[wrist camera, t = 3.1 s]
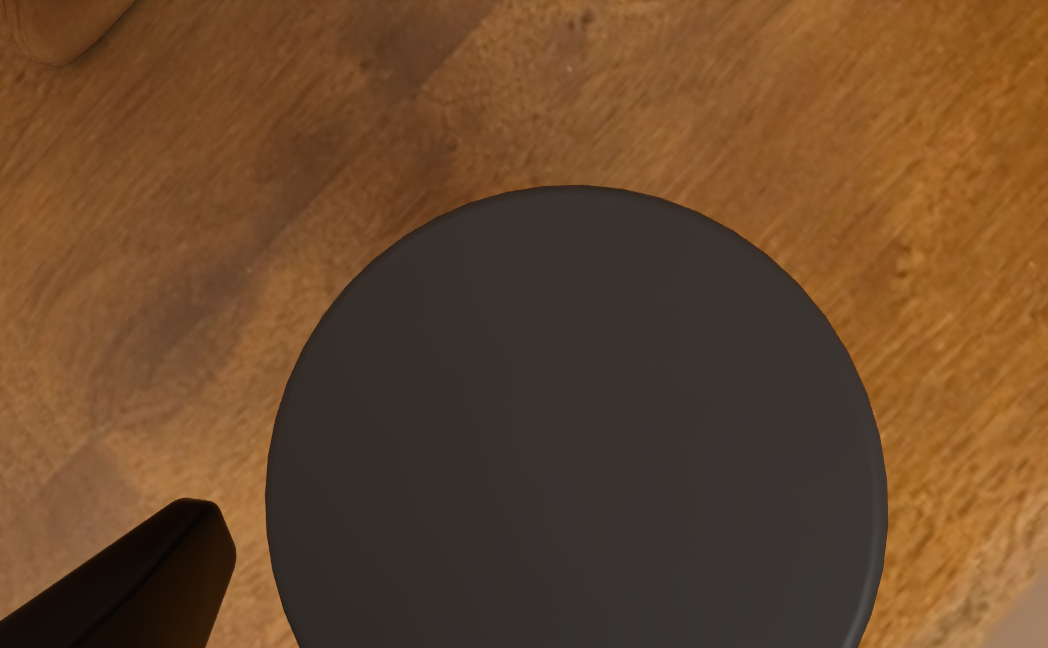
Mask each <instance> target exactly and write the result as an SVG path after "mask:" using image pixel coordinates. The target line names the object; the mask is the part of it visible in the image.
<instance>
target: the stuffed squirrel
mask: <svg viewBox="0 0 1048 648" xmlns="http://www.w3.org/2000/svg"><path fill="white" fill-rule="evenodd" d="M134 2H135V0H4V4H5V11H6V18H7V21H8V24H9V26H10V29H11V32H12V36H13V38H14V41H15V43H16V45H17V46H18V48H19V49H20V51H21V52H22V53H23V54H24V55H25V56H26V57H28V58H29V59H31V60H34V61H36V62H39V63H41V64H47V65H58V66H62V65H65V64H67V63H70V62H71V61H72V60H73V59H75V58H76V57H78V56H79V55H80V54H82V53H83V52H84V51H85V50H87V49H88V48H89V47H90V46H91V45H93V44H94V43H95V42H96V41H97V40H98V39H100V38H101V37H102V36H103V35H104V34H105V33H106V32H107V31H108V30H109V29H110V28H111V27H112V26H113V24H114V23H115V22H116V21H117V20H118V19H119V18H120V16H121V15H122V14H123V13H124V12H125V11H126V10H127V9H128V8H129V7H130V6H131V5H132V4H133V3H134Z"/></svg>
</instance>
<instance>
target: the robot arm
mask: <svg viewBox="0 0 1048 648" xmlns="http://www.w3.org/2000/svg"><path fill="white" fill-rule="evenodd" d="M235 563H236V548H235V544H234V542H233V540H232V537H231V535H230V532H229V530H228V527H227V525H226V522H225V520H224V518H223V515H222V513H221V510H220V508H219V507H218V506H217V505H216V504H215V503H214V502H212V501H207V500H200V499H193V498H181V499H178V500H175V501H173V502H172V503H170V504H169V505H167V506H166V507H164V508H163V509H161V510H160V511H159V512H157V513H156V514H154V515H153V516H151V517H150V518H148V519H147V520H146V521H144V522H143V523H141V524H140V525H138V526H137V527H135V528H134V529H133V530H131V531H130V532H128V533H127V534H125V535H124V536H122V537H121V538H120V539H118V540H117V541H115V542H114V543H112V544H111V545H109V546H108V547H107V548H105V549H104V550H102V551H101V552H99V553H98V554H96V555H95V556H94V557H92V558H91V559H89V560H88V561H86V562H85V563H83V564H82V565H81V566H79V567H78V568H76V569H75V570H73V571H72V572H70V573H69V574H68V575H66V576H65V577H63V578H62V579H60V580H59V581H57V582H56V583H55V584H53V585H52V586H50V587H49V588H47V589H46V590H44V591H43V592H42V593H40V594H39V595H37V596H36V597H34V598H33V599H31V600H30V601H29V602H27V603H26V604H24V605H23V606H21V607H20V608H18V609H17V610H15V611H14V612H13V613H11V614H10V615H8V616H7V617H5V618H4V619H2V620H1V621H0V648H205V647H206V645H207V642H208V639H209V637H210V634H211V631H212V628H213V626H214V623H215V620H216V617H217V615H218V612H219V609H220V607H221V604H222V601H223V598H224V596H225V593H226V590H227V587H228V585H229V582H230V579H231V577H232V574H233V571H234V568H235Z"/></svg>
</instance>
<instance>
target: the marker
mask: <svg viewBox="0 0 1048 648" xmlns="http://www.w3.org/2000/svg"><path fill="white" fill-rule="evenodd" d="M265 505H266V529H267V539H268V545H269V551H270V557H271V564H272V570H273V574H274V578H275V581H276V585H277V588H278V592H279V595H280V599H281V602H282V606H283V609H284V612H285V615H286V617H287V619H288V622H289V624H290V626H291V629H292V631H293V633H294V636H295V638H296V641H297V643H298V645H299V648H858V646H859V643H860V641H861V638H862V636H863V634H864V631H865V629H866V626H867V624H868V622H869V619H870V617H871V614H872V610H873V607H874V603H875V599H876V595H877V591H878V587H879V583H880V580H881V576H882V572H883V565H884V556H885V548H886V539H887V530H888V501H887V477H886V471H885V465H884V458H883V452H882V446H881V440H880V435H879V431H878V428H877V425H876V421H875V418H874V415H873V411H872V408H871V405H870V402H869V398H868V395H867V392H866V390H865V388H864V386H863V383H862V381H861V379H860V377H859V375H858V372H857V370H856V368H855V366H854V364H853V361H852V359H851V357H850V355H849V353H848V351H847V350H846V348H845V346H844V345H843V343H842V342H841V340H840V338H839V337H838V335H837V334H836V332H835V330H834V329H833V327H832V326H831V324H830V322H829V321H828V319H827V318H826V316H825V315H824V314H823V313H822V311H821V310H820V309H819V308H818V307H817V305H816V304H815V303H814V302H813V300H812V299H811V298H810V297H809V296H808V294H807V293H806V292H805V291H804V290H803V288H802V287H801V286H800V285H799V284H798V283H797V282H796V281H795V280H794V279H793V278H792V277H791V276H790V275H789V274H788V273H787V272H785V271H784V270H783V269H782V268H781V267H780V266H779V265H778V264H777V263H776V262H775V261H774V260H773V259H772V258H770V257H769V256H768V255H767V254H766V253H764V252H763V251H761V250H760V249H759V248H757V247H756V246H754V245H753V244H752V243H750V242H749V241H747V240H746V239H745V238H743V237H742V236H740V235H739V234H738V233H736V232H735V231H733V230H731V229H729V228H727V227H726V226H724V225H722V224H720V223H718V222H716V221H714V220H712V219H710V218H709V217H707V216H705V215H703V214H701V213H699V212H697V211H694V210H692V209H689V208H686V207H684V206H681V205H678V204H676V203H673V202H670V201H668V200H665V199H662V198H659V197H655V196H651V195H646V194H642V193H638V192H633V191H629V190H625V189H619V188H609V187H599V186H589V185H563V186H542V187H535V188H529V189H523V190H516V191H510V192H505V193H502V194H498V195H495V196H491V197H488V198H484V199H481V200H477V201H474V202H471V203H468V204H466V205H464V206H461V207H459V208H457V209H454V210H452V211H450V212H447V213H445V214H443V215H441V216H438V217H436V218H434V219H433V220H431V221H429V222H427V223H426V224H424V225H422V226H421V227H419V228H417V229H416V230H414V231H412V232H410V233H409V234H407V235H405V236H404V237H402V238H401V239H400V240H398V241H397V242H396V243H394V244H393V245H392V246H390V247H389V248H388V249H387V250H385V251H384V252H383V253H381V254H380V255H379V256H377V257H376V258H375V259H374V260H372V261H371V262H370V263H369V264H368V265H367V266H366V267H365V268H364V269H363V270H362V271H361V272H360V273H359V274H358V275H357V276H356V277H355V278H354V279H353V280H352V281H351V282H350V283H349V284H348V285H347V286H346V287H345V288H344V290H343V291H342V292H341V293H340V295H339V296H338V297H337V298H336V300H335V301H334V302H333V303H332V305H331V306H330V307H329V309H328V310H327V311H326V312H325V314H324V315H323V316H322V318H321V319H320V321H319V323H318V324H317V326H316V328H315V329H314V331H313V332H312V334H311V336H310V337H309V339H308V341H307V342H306V344H305V345H304V347H303V349H302V351H301V353H300V356H299V358H298V360H297V362H296V364H295V366H294V369H293V371H292V373H291V375H290V377H289V379H288V382H287V384H286V387H285V391H284V394H283V397H282V400H281V403H280V406H279V409H278V412H277V415H276V418H275V423H274V428H273V434H272V439H271V444H270V449H269V454H268V463H267V476H266V489H265Z"/></svg>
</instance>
